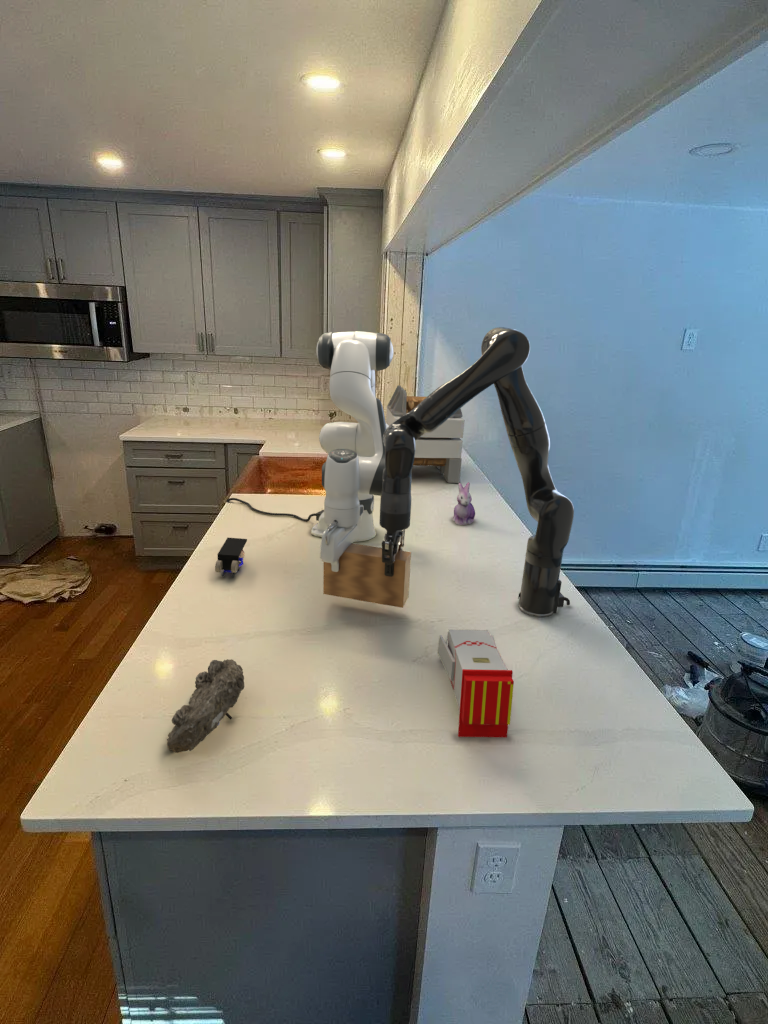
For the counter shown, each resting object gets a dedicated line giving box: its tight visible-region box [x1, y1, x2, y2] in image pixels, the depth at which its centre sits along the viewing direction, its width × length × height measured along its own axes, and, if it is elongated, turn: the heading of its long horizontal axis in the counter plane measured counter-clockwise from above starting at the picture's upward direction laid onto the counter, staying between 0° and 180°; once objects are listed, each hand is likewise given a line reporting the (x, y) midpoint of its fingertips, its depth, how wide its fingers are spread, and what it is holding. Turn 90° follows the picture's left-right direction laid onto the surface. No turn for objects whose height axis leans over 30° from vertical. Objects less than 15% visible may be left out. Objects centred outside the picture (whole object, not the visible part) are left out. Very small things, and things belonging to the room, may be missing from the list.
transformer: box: [385, 384, 465, 484], centre depth 268 cm, size 34×33×41 cm
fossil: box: [166, 658, 245, 754], centre depth 106 cm, size 22×10×15 cm
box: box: [322, 542, 412, 609], centre depth 146 cm, size 21×6×13 cm, turn 74°
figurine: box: [452, 481, 476, 526], centre depth 212 cm, size 9×10×15 cm
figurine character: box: [214, 537, 248, 578], centre depth 166 cm, size 7×8×15 cm
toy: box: [437, 628, 515, 738], centre depth 117 cm, size 12×13×30 cm
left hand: (340, 564), depth 147 cm, fingers closed on box, 6 cm apart
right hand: (392, 570), depth 143 cm, fingers closed on box, 6 cm apart
